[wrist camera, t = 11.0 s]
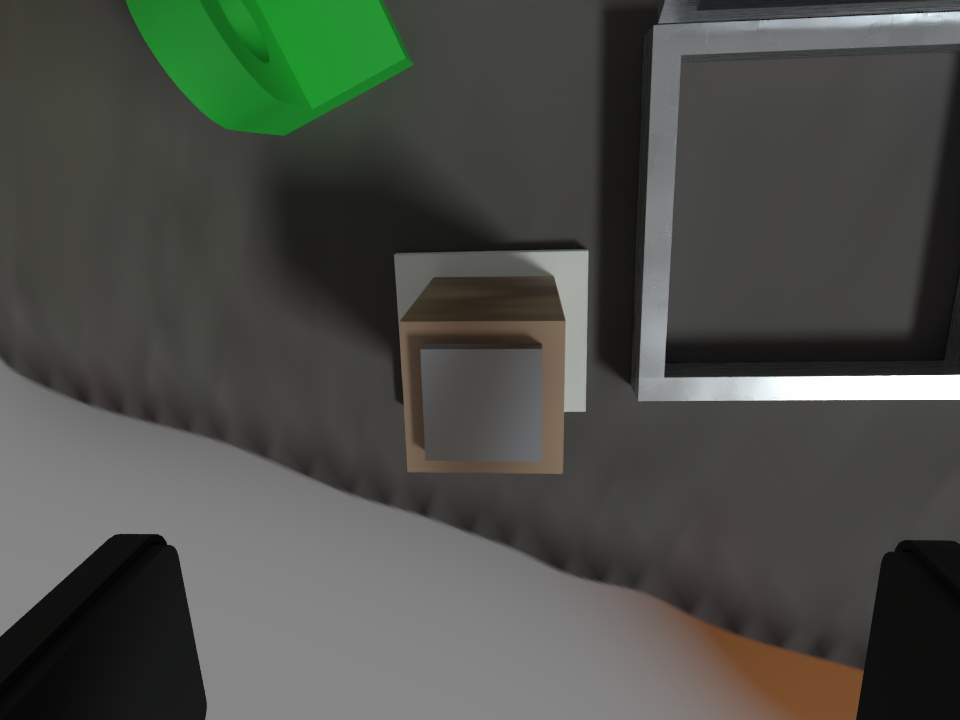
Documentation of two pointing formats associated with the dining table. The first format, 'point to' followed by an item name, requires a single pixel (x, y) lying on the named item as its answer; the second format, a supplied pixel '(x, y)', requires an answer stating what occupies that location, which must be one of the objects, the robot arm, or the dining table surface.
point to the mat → (561, 264)
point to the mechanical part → (271, 55)
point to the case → (657, 177)
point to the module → (484, 376)
